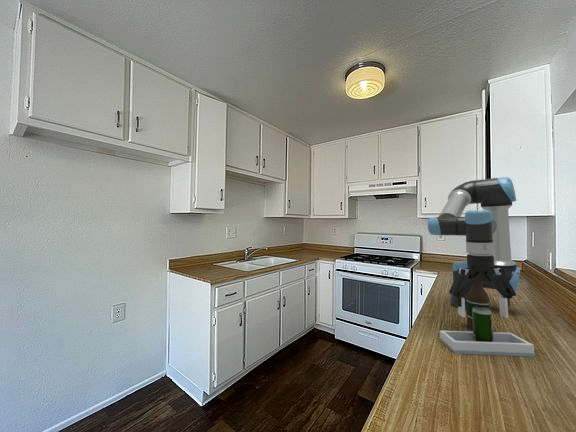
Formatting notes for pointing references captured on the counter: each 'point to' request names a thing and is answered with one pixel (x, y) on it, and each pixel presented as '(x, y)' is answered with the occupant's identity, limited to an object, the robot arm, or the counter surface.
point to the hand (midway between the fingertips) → (482, 316)
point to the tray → (487, 344)
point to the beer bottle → (476, 300)
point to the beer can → (482, 324)
